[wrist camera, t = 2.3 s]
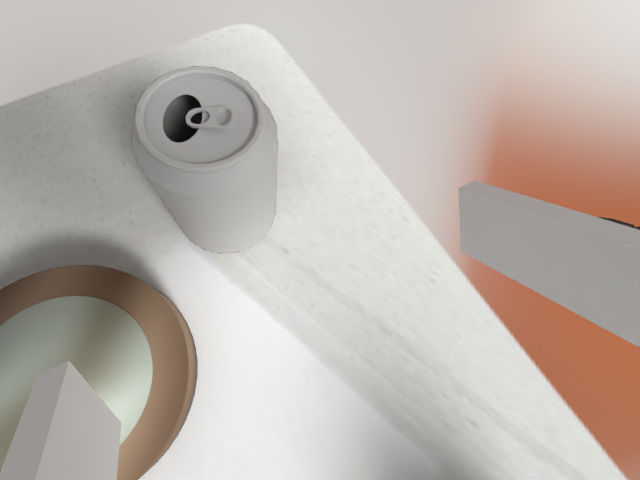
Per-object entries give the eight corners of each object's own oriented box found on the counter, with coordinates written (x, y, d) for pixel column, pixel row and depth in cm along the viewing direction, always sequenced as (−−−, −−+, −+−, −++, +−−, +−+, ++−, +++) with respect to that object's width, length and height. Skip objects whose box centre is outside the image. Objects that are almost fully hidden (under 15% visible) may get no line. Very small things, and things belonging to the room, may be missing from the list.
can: (189, 166, 29) (139, 41, 18) (280, 177, 30) (286, 64, 19) (170, 251, 27) (97, 169, 15) (270, 262, 27) (269, 190, 16)
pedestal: (-92, 479, 20) (-153, 498, 17) (33, 254, 25) (2, 240, 22) (149, 532, 21) (129, 560, 18) (225, 303, 26) (219, 295, 23)
